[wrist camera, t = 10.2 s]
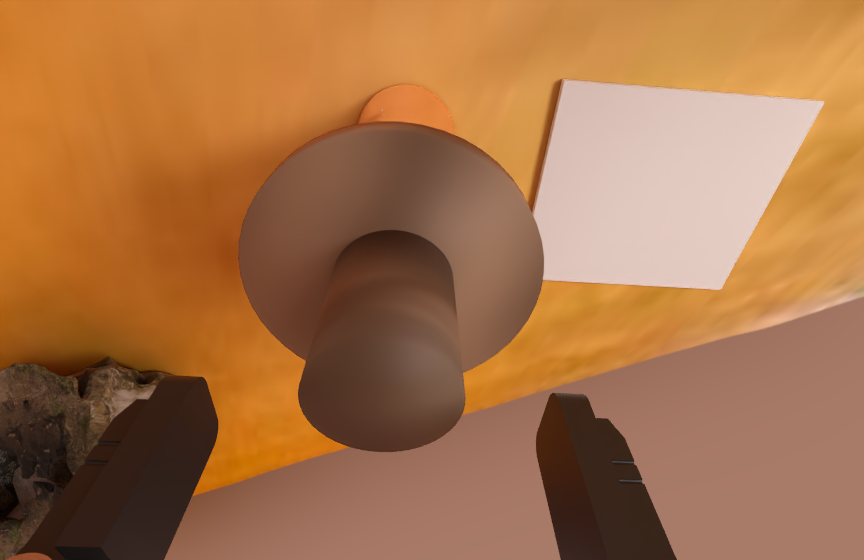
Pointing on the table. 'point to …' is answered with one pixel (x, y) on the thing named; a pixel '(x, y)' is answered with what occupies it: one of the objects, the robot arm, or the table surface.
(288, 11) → the table surface
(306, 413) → the walnut lid
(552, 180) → the white mat
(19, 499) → the hollow geode rock
